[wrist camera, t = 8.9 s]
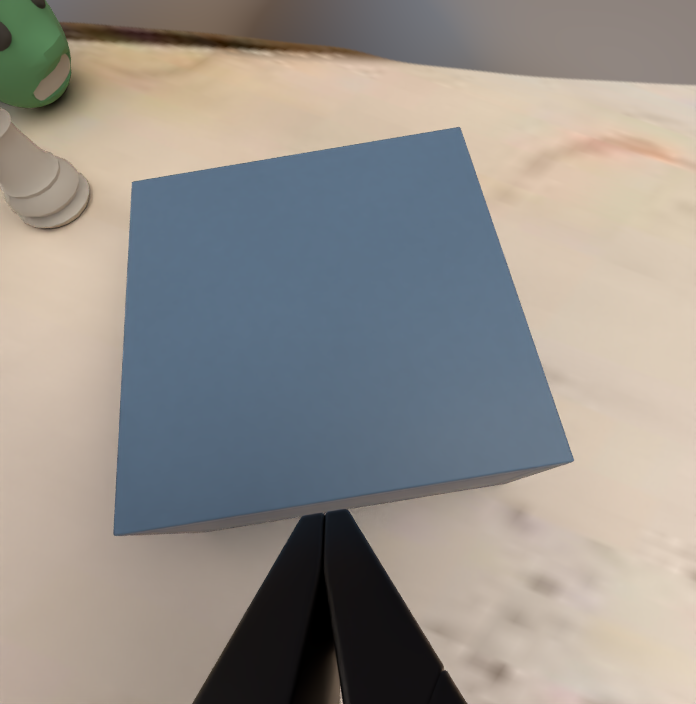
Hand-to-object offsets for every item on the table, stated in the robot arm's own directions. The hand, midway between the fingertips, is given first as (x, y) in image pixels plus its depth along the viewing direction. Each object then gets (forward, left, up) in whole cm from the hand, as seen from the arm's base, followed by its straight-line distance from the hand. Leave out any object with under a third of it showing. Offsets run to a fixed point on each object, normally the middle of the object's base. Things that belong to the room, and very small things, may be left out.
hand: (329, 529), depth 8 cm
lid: (+4, -6, -5) cm, 9 cm away
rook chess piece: (+25, -8, -12) cm, 29 cm away
